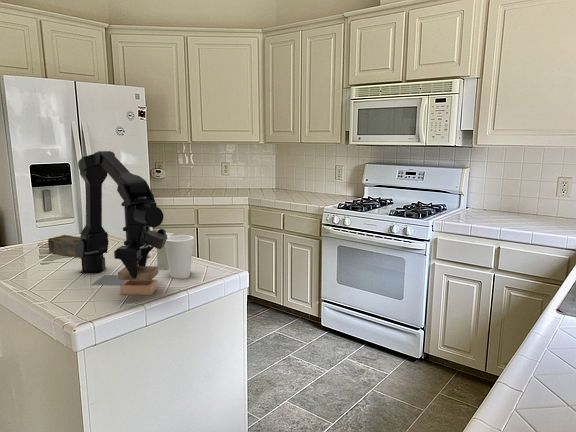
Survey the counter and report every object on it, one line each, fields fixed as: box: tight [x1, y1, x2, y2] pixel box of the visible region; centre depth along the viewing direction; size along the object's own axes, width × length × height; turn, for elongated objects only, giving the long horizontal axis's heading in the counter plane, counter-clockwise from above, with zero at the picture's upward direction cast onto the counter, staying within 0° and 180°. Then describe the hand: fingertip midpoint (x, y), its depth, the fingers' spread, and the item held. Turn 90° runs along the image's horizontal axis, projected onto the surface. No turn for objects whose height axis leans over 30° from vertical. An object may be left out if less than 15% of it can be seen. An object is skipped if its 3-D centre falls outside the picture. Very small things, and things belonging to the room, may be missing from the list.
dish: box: [119, 279, 159, 296], centre depth 128 cm, size 9×6×3 cm, turn 89°
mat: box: [90, 274, 126, 286], centre depth 138 cm, size 12×10×1 cm
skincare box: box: [156, 232, 176, 271], centre depth 152 cm, size 6×4×12 cm
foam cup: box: [164, 234, 195, 280], centre depth 143 cm, size 10×9×13 cm
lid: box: [117, 265, 159, 280], centre depth 127 cm, size 10×6×3 cm
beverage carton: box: [47, 234, 81, 259], centre depth 172 cm, size 8×19×7 cm, turn 65°
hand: (138, 274), depth 127 cm, fingers closed on lid, 6 cm apart
